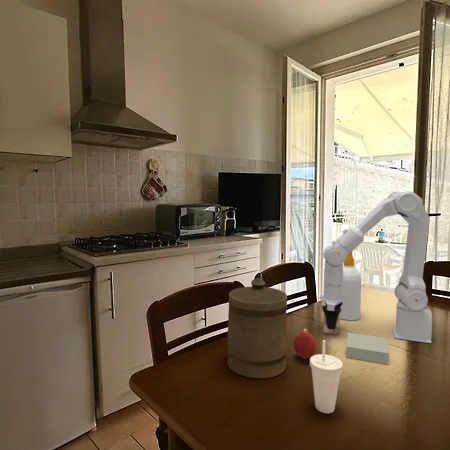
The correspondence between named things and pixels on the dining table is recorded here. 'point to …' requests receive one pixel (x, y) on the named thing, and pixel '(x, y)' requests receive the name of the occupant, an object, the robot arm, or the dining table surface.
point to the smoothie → (325, 380)
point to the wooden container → (257, 330)
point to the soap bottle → (351, 290)
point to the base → (367, 348)
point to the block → (332, 329)
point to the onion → (305, 344)
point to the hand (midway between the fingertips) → (331, 325)
